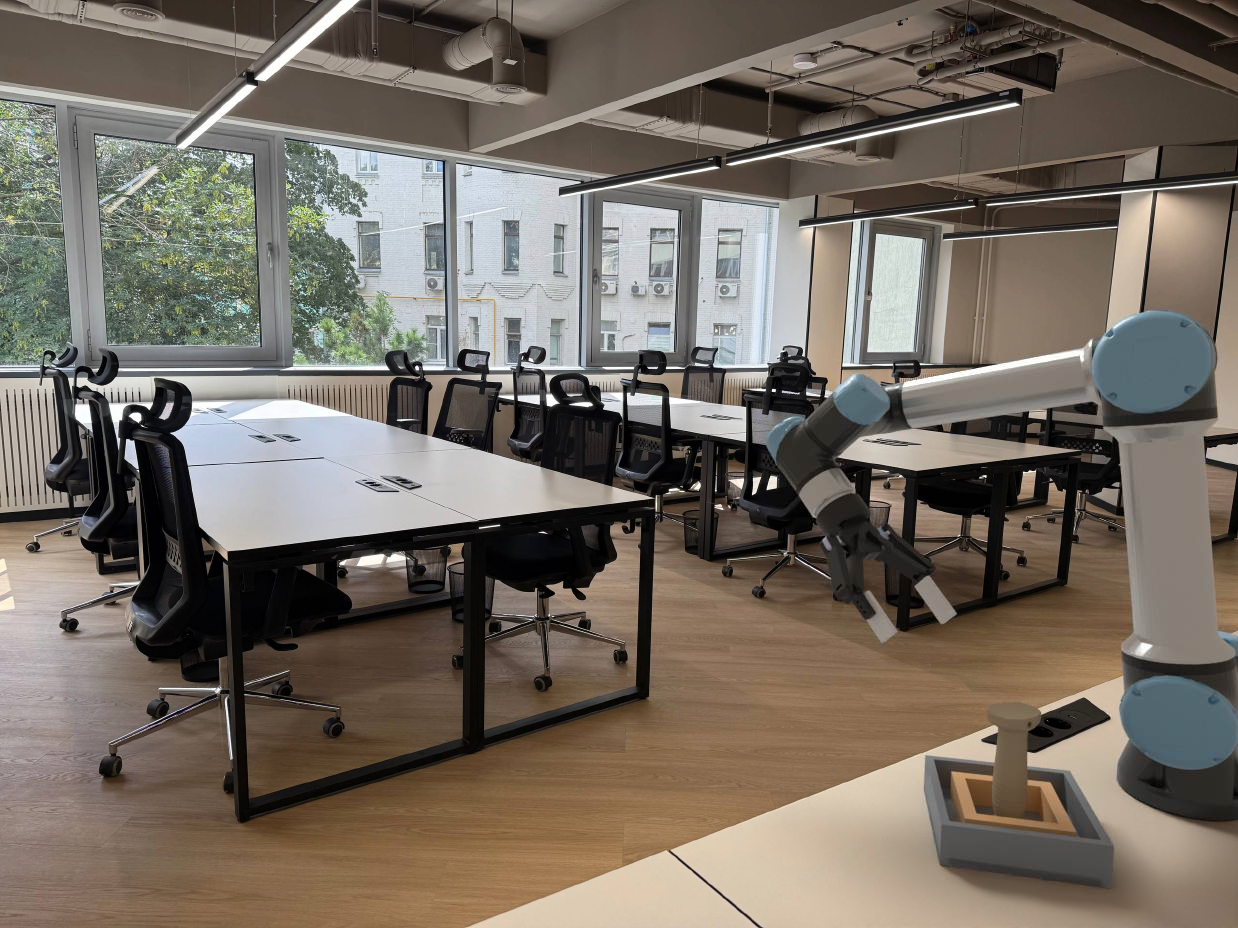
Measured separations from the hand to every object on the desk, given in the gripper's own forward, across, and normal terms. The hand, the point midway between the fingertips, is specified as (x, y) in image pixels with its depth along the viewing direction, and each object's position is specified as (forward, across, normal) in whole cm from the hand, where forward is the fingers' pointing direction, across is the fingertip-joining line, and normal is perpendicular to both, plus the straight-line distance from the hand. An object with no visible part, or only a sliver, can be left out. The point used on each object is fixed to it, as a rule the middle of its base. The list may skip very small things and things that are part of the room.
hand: (920, 628), depth 114 cm
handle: (+26, +2, -5) cm, 26 cm away
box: (+26, +2, -6) cm, 27 cm away
